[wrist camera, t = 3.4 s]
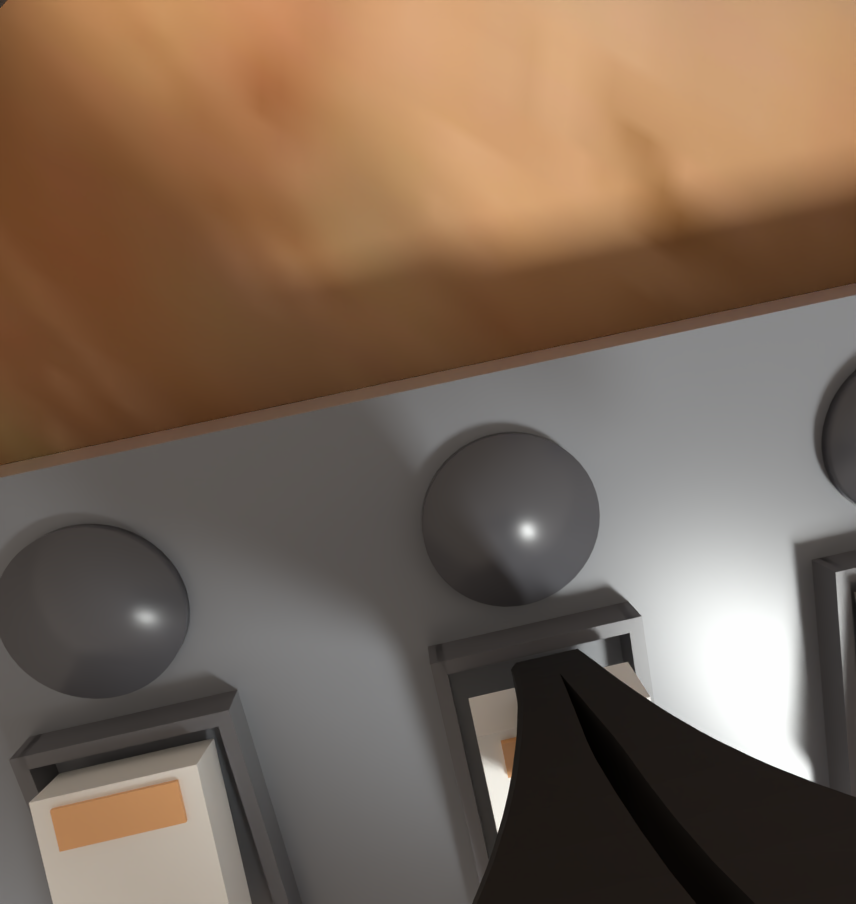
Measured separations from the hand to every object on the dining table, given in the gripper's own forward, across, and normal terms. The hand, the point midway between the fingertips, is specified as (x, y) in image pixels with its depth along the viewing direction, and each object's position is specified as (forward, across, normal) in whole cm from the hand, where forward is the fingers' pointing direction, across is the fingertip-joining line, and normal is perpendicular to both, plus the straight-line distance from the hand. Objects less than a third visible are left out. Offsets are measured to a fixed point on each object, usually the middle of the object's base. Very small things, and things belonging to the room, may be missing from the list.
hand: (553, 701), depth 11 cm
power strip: (+5, -4, 0) cm, 6 cm away
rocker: (0, +8, +3) cm, 9 cm away
